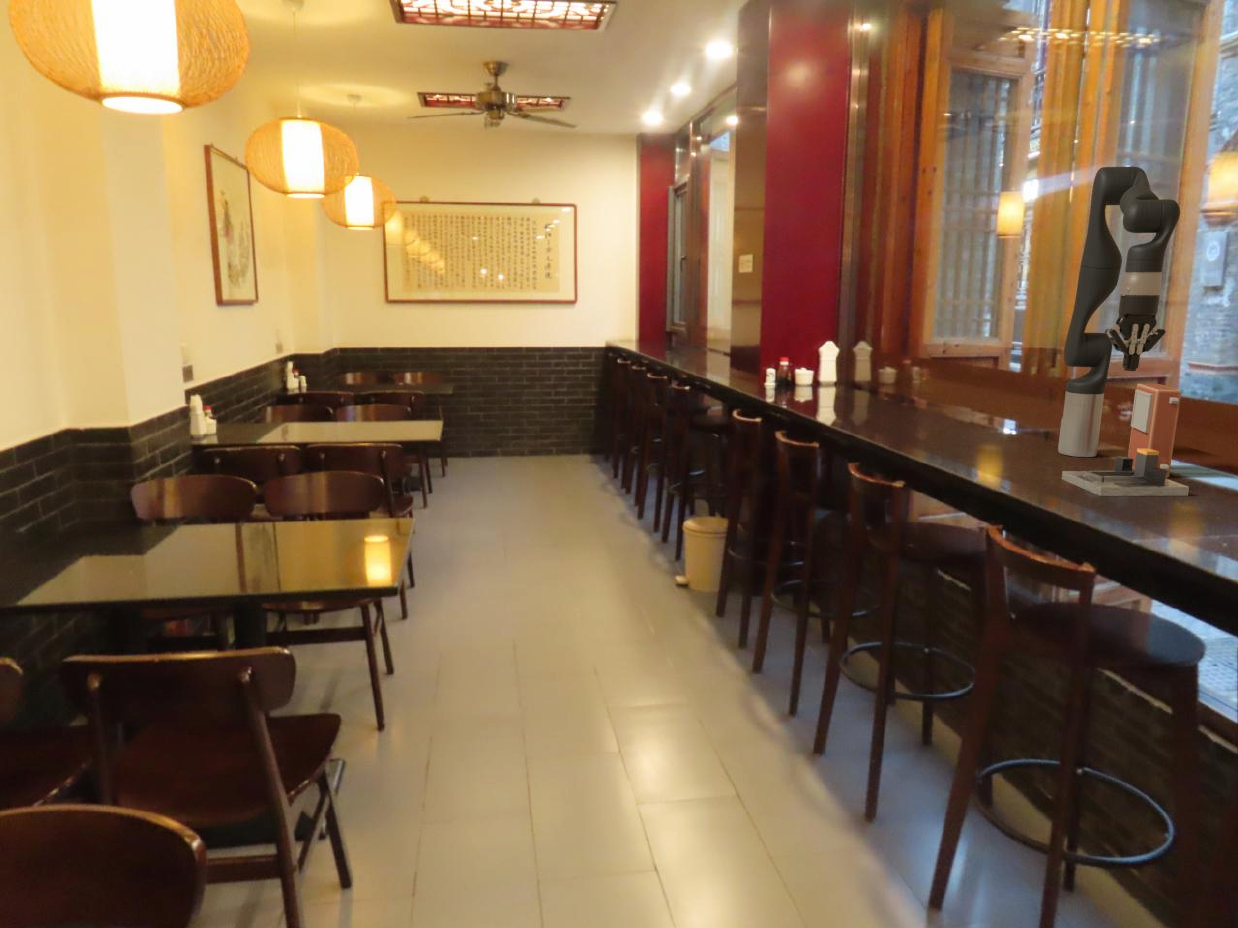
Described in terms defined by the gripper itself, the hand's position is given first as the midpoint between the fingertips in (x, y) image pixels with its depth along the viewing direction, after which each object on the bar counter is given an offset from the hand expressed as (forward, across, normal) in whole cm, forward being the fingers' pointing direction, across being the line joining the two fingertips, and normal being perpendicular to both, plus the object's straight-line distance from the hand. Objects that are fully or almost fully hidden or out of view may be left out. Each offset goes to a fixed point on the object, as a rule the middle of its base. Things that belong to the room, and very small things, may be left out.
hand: (1129, 370), depth 192 cm
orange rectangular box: (+28, -17, -15) cm, 36 cm away
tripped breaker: (+25, -6, +1) cm, 25 cm away
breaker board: (+27, -1, +1) cm, 27 cm away
